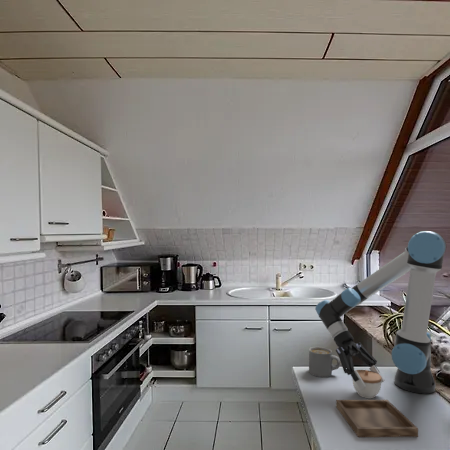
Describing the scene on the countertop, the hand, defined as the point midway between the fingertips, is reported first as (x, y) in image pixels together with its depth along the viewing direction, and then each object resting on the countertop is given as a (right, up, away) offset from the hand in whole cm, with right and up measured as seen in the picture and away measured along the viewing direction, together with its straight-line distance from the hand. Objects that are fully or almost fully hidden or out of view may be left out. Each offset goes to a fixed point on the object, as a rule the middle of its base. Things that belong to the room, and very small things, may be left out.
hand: (373, 385), depth 137 cm
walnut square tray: (-7, -4, -17) cm, 19 cm away
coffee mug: (-13, -5, +23) cm, 27 cm away
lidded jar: (-2, -5, +2) cm, 6 cm away
